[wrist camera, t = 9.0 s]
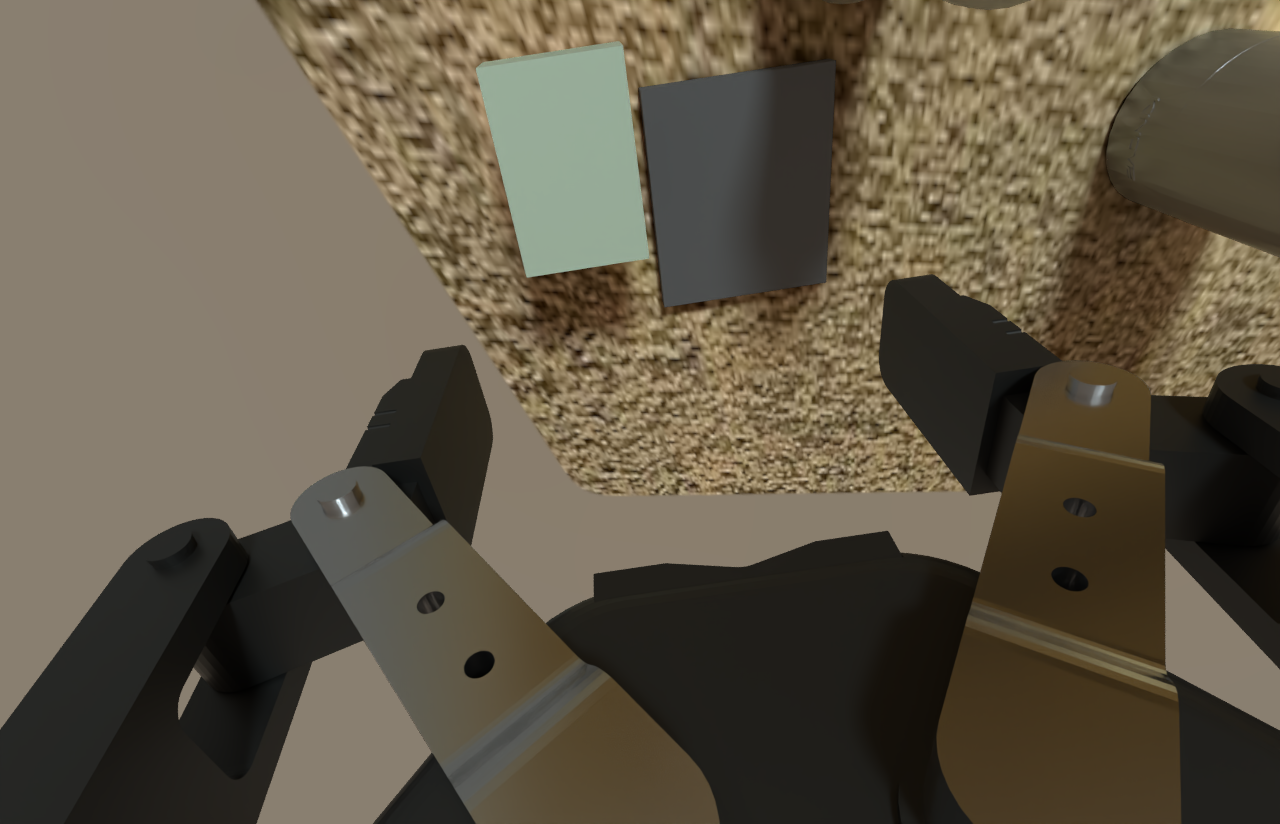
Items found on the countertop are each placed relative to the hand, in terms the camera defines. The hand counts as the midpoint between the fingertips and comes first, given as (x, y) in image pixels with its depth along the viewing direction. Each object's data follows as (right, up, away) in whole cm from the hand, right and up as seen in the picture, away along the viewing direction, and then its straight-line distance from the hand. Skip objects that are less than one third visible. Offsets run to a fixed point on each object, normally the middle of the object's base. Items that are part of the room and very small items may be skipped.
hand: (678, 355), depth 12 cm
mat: (+5, +12, +24) cm, 27 cm away
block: (-4, +11, +18) cm, 21 cm away
